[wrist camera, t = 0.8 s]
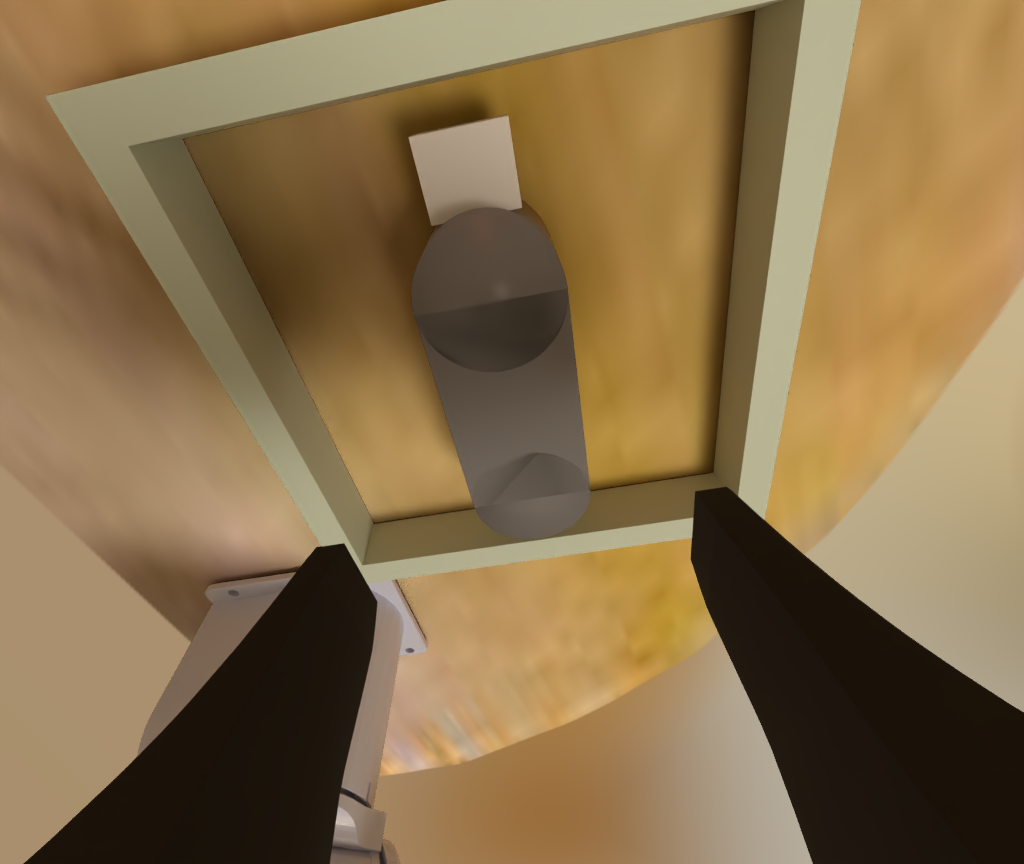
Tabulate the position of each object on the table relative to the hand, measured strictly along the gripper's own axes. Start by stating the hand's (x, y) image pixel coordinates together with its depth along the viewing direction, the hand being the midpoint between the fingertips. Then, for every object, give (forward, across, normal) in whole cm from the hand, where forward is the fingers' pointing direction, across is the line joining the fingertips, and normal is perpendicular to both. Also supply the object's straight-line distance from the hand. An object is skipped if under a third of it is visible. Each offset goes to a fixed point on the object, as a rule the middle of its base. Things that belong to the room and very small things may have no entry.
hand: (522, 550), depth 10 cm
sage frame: (+9, 0, 0) cm, 9 cm away
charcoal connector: (+9, 0, 0) cm, 9 cm away
